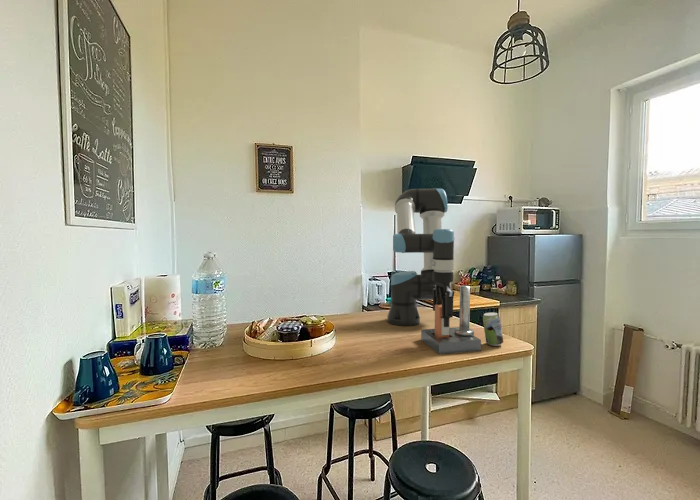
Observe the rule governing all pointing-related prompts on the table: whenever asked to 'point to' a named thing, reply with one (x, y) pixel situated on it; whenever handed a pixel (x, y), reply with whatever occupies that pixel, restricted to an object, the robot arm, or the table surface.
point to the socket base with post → (455, 331)
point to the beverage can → (492, 329)
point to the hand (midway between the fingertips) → (442, 332)
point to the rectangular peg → (439, 321)
